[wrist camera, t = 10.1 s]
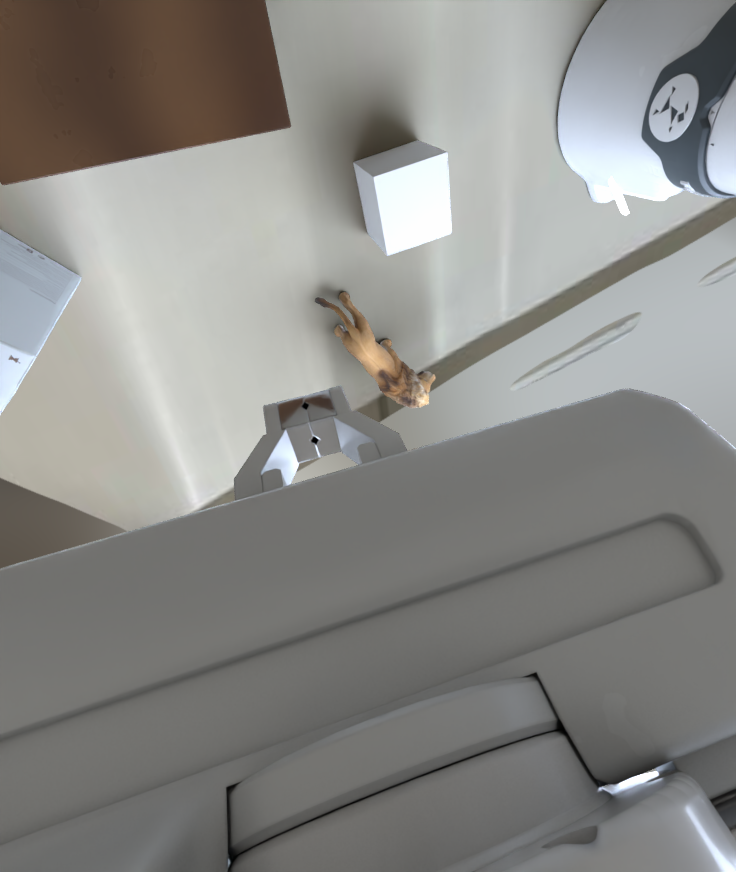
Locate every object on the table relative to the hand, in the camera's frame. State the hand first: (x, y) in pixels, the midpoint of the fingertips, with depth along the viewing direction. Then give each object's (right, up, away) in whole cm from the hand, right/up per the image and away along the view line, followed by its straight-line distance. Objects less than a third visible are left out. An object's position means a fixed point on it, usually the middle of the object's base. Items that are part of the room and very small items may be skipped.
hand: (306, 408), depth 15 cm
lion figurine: (+2, +11, +31) cm, 33 cm away
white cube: (+4, +21, +21) cm, 31 cm away
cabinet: (-13, +25, +11) cm, 30 cm away
